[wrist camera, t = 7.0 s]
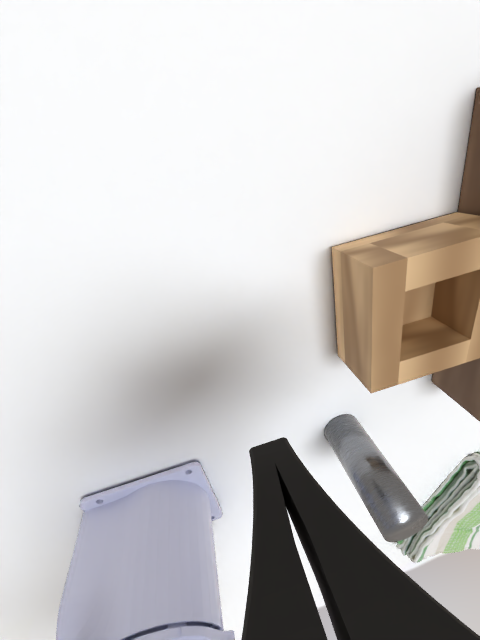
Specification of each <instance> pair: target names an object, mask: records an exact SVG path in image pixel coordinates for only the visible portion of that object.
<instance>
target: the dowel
mask: <svg viewBox="0 0 480 640" xmlns="http://www.w3.org/2000/svg"><path fill="white" fill-rule="evenodd" d="M324 433H325V436H326V438H327V440H328V441H329V443H330V445H331V447H332V448H333V450H334V452H335V454H336V455H337V457H338V459H339V461H340V462H341V464H342V466H343V468H344V469H345V471H346V473H347V475H348V476H349V478H350V480H351V482H352V483H353V485H354V487H355V488H356V490H357V492H358V494H359V495H360V497H361V499H362V501H363V502H364V504H365V506H366V508H367V509H368V511H369V513H370V515H371V516H372V518H373V520H374V522H375V523H376V525H377V527H378V529H379V530H380V532H381V534H382V536H383V537H384V539H385V540H386V541H388V542H397V541H401V540H404V539H407V538H409V537H411V536H413V535H414V534H416V533H417V532H419V531H420V530H421V529H422V528H423V527H424V526H425V525H426V523H427V522H428V516H427V514H426V513H425V512H424V510H423V509H422V507H421V506H420V505H419V503H418V502H417V501H416V499H415V498H414V497H413V495H412V494H411V493H410V491H409V490H408V488H407V487H406V486H405V484H404V483H403V482H402V480H401V479H400V478H399V476H398V475H397V473H396V472H395V471H394V469H393V468H392V467H391V465H390V464H389V463H388V461H387V460H386V459H385V457H384V456H383V454H382V453H381V452H380V450H379V449H378V448H377V446H376V445H375V444H374V442H373V441H372V440H371V438H370V437H369V435H368V434H367V433H366V431H365V430H364V429H363V427H362V426H361V425H360V423H359V422H358V421H357V419H356V418H355V417H354V416H352V415H349V414H345V415H340V416H338V417H336V418H334V419H333V420H331V421H330V422H329V423H328V424H327V426H326V428H325V431H324Z"/></svg>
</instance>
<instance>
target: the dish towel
mask: <svg viewBox="0 0 480 640" xmlns="http://www.w3.org/2000/svg"><path fill="white" fill-rule="evenodd" d="M422 509H423V510H424V512H425V513H426V514H427V516H428V522H427V523H426V525H425V526H424V527H423V528H422V529H421V530H420V531H419V532H417V533H416V534H414V535H413V536H411V537H409V538H407V539H404V540H401V541H397V543H398V544H397V545H396V547H397V548H398V549H401V551H402V554H403V555H406V554H407V556H408V557H409V558H410V559H411V561H412V562H414V563H416V562H420V561H421V560H422V559H425V558H427V557H430V556H434V555H437V554H439V553H453V552H460V551H463V550H466V549H480V453H473V454H472V455H471V456H467V457H465V458H464V459H463V460H462V461H461V462H460V463H459V464H458V465H457V467H456V468H455V469H454V470H453V471H452V472H451V473H450V474H449V475H448V477H447V478H446V479H445V481H444V482H443V483H442V484H441V485H440V487H439V488H438V489H437V490H436V491H435V492H434V493H433V494H432V495H431V496H430V498H429V499H428V500H427V501H426V502H425V503H424V505H423V506H422Z"/></svg>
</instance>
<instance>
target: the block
mask: <svg viewBox="0 0 480 640" xmlns="http://www.w3.org/2000/svg"><path fill="white" fill-rule="evenodd" d="M332 259H333V277H334V294H335V312H336V329H337V347H338V356H339V357H340V358H341V360H342V361H343V362H344V363H345V364H346V365H347V366H348V368H349V369H350V370H351V371H352V372H353V373H354V374H355V376H356V377H357V378H358V379H359V380H360V381H361V382H362V384H363V385H364V386H365V387H366V388H367V389H368V390H369V392H370V393H374V392H377V391H380V390H383V389H386V388H389V387H392V386H395V385H398V384H401V383H404V382H408V381H411V380H414V379H417V378H420V377H423V376H426V375H429V374H432V373H435V372H438V371H442V370H445V369H448V368H451V367H454V366H457V365H460V364H463V363H466V362H469V361H472V360H475V359H479V358H480V216H478V215H471V214H465V213H459V212H455V213H452V214H448V215H445V216H441V217H437V218H434V219H430V220H427V221H423V222H420V223H416V224H413V225H409V226H405V227H402V228H398V229H395V230H391V231H388V232H384V233H381V234H377V235H373V236H370V237H366V238H363V239H359V240H356V241H352V242H349V243H345V244H341V245H338V246H334V247H332Z"/></svg>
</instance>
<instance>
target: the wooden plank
mask: <svg viewBox="0 0 480 640" xmlns="http://www.w3.org/2000/svg"><path fill="white" fill-rule="evenodd" d="M458 212H459V213H465V214H471V215H478V216H480V87H479V88H477V90H476V97H475V103H474V110H473V116H472V123H471V129H470V136H469V142H468V149H467V155H466V162H465V168H464V175H463V181H462V188H461V194H460V201H459V207H458ZM432 382H433V383H434V384H435V385H436V386H438V387H439V388H440V389H441V390H442V391H444V392H445V393H446V394H447V395H448V396H450V397H451V398H452V399H453V400H454V401H456V402H457V403H458V404H459V405H460V406H462V407H463V408H464V409H465V410H467V411H468V412H469V413H470V414H471V415H473V416H474V417H475V418H476V419H477V420H479V421H480V358H479V359H475V360H472V361H469V362H466V363H463V364H460V365H457V366H454V367H451V368H448V369H445V370H442V371H438V372H435V373H433V376H432Z"/></svg>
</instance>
